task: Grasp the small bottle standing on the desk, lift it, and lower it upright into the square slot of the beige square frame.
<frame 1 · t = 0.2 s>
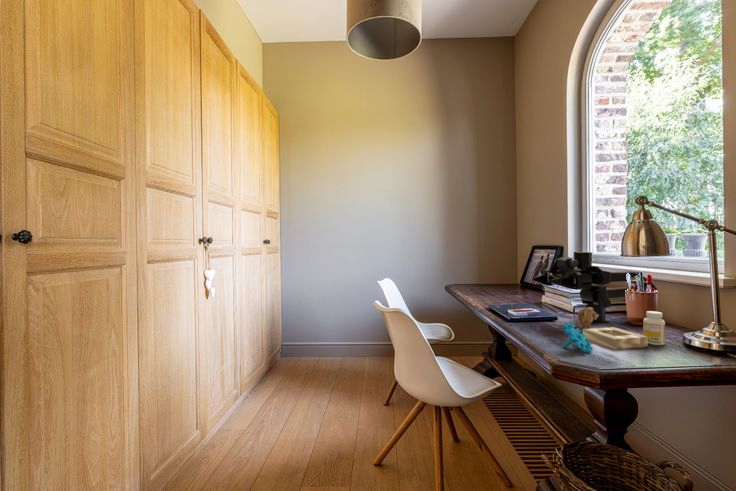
hand: (541, 280, 137), 17 cm above the table, tool horizontal, fingers open, 9 cm apart
beige square frame: (613, 342, 114), on the table
lion figurine: (585, 330, 129), on the table
supplement bottle: (653, 343, 113), on the table
teal lumpy piece: (577, 350, 106), on the table
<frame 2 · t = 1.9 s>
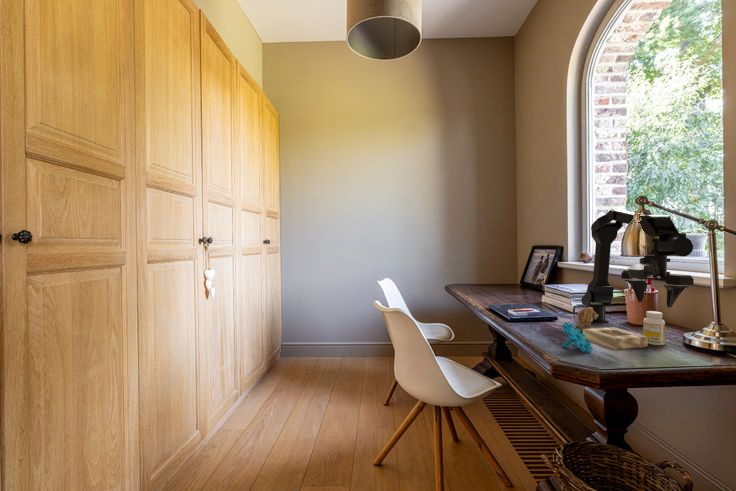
hand: (654, 304, 113), 12 cm above the table, tool pointing down, fingers open, 9 cm apart
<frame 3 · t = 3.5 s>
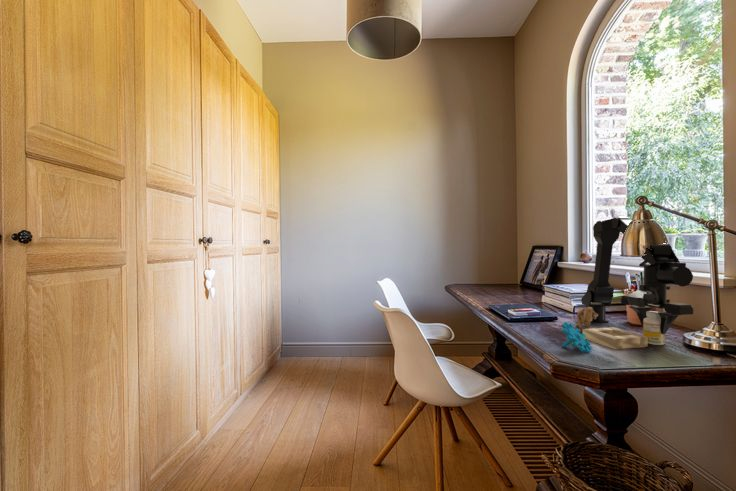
hand: (653, 331, 113), 4 cm above the table, tool pointing down, fingers closed on supplement bottle, 5 cm apart
supplement bottle: (653, 343, 113), on the table, touching gripper
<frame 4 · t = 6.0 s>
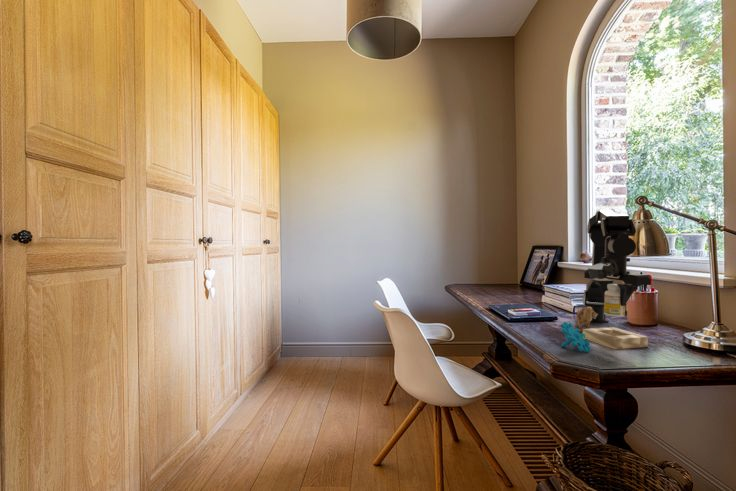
hand: (614, 304, 113), 12 cm above the table, tool pointing down, fingers closed on supplement bottle, 5 cm apart
supplement bottle: (614, 315, 114), point 8 cm above the table, touching gripper
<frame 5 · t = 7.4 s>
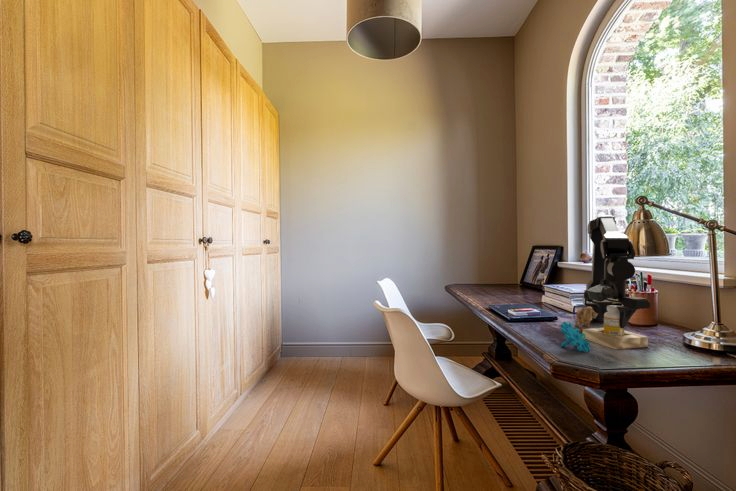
hand: (613, 325, 114), 5 cm above the table, tool pointing down, fingers closed on supplement bottle, 5 cm apart
supplement bottle: (613, 337, 114), point 1 cm above the table, touching gripper
when the fingers open (4 cm above the table, at t = 8.5 s): supplement bottle stays where it is, resting in beige square frame.
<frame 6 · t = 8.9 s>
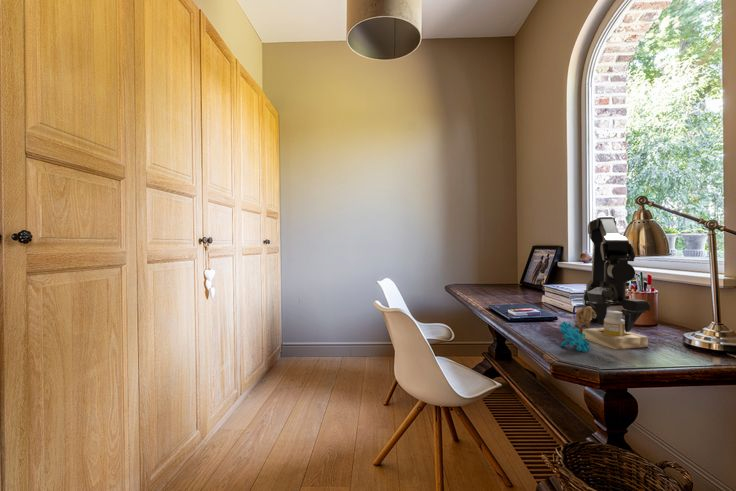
hand: (613, 328, 114), 4 cm above the table, tool pointing down, fingers open, 9 cm apart
supplement bottle: (613, 342, 114), resting in beige square frame
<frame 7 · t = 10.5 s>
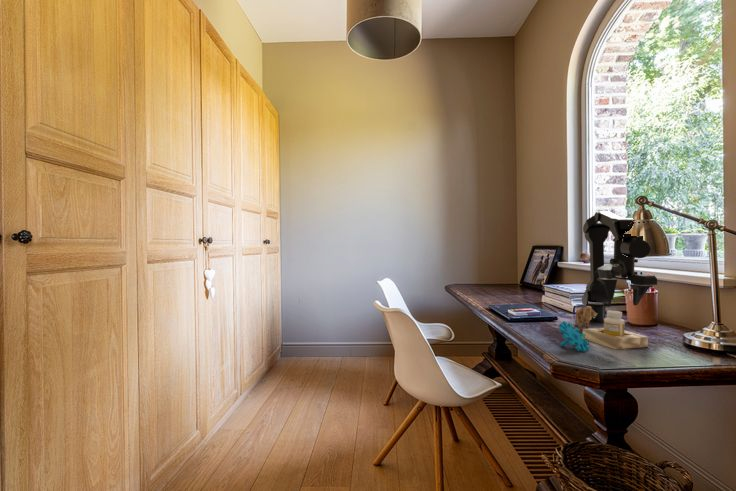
hand: (622, 302, 120), 11 cm above the table, tool pointing down, fingers open, 9 cm apart
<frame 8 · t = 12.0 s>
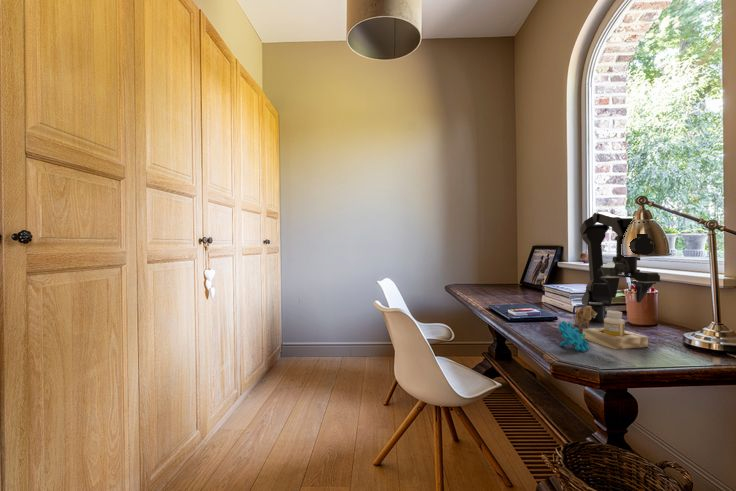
hand: (625, 300, 122), 12 cm above the table, tool pointing down, fingers open, 9 cm apart
at the end: supplement bottle 0.1 cm off-centre on the beige square frame, point 0.0 cm above the beige square frame's base; supplement bottle tilted 0°; the gripper is holding nothing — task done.
